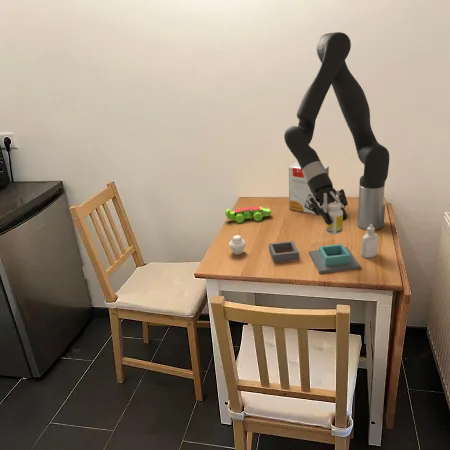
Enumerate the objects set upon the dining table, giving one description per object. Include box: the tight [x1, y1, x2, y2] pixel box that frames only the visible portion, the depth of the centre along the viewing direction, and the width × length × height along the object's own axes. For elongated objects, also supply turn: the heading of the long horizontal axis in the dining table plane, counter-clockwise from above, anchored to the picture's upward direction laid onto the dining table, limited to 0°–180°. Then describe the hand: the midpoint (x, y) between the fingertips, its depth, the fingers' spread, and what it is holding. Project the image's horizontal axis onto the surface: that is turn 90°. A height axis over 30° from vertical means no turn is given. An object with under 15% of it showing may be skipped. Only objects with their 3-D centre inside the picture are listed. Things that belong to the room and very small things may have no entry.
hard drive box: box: [288, 161, 330, 215], centre depth 193 cm, size 16×8×20 cm, turn 55°
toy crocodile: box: [224, 205, 272, 224], centre depth 192 cm, size 20×7×6 cm, turn 94°
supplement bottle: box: [325, 201, 344, 235], centre depth 148 cm, size 5×5×10 cm
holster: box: [268, 240, 300, 263], centre depth 161 cm, size 9×9×3 cm
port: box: [308, 243, 362, 274], centre depth 154 cm, size 14×14×4 cm
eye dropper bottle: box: [361, 224, 379, 259], centre depth 154 cm, size 4×6×12 cm
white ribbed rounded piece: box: [228, 234, 247, 255], centre depth 165 cm, size 6×6×7 cm
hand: (337, 221), depth 147 cm, fingers closed on supplement bottle, 5 cm apart
